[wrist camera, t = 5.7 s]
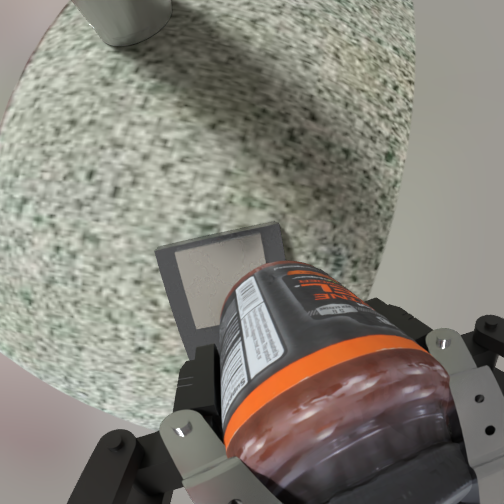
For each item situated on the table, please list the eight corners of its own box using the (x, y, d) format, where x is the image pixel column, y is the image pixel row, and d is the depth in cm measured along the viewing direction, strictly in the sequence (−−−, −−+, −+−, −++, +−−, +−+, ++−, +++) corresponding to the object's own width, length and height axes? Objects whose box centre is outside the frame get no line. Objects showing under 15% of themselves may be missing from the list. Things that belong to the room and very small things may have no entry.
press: (158, 246, 26) (118, 286, 15) (274, 221, 27) (316, 242, 16) (206, 390, 31) (206, 465, 19) (298, 370, 32) (330, 438, 20)
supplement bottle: (356, 281, 13) (543, 417, 2) (304, 376, 14) (392, 552, 3) (247, 235, 12) (436, 493, 1) (200, 347, 13) (196, 587, 2)
